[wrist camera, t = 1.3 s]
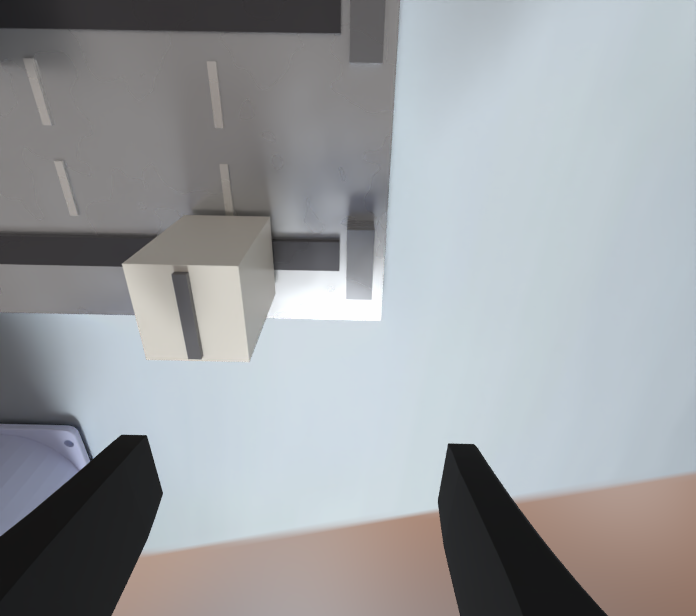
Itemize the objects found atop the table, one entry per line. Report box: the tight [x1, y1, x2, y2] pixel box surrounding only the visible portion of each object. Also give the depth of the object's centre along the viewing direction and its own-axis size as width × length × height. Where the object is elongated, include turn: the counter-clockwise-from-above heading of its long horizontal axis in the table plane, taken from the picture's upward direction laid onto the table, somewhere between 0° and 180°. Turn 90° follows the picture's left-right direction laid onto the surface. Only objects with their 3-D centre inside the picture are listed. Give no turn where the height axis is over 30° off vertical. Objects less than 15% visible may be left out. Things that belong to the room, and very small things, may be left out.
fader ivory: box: [122, 215, 276, 362], centre depth 14 cm, size 3×3×5 cm
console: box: [0, 0, 400, 320], centre depth 15 cm, size 14×24×2 cm, turn 89°
